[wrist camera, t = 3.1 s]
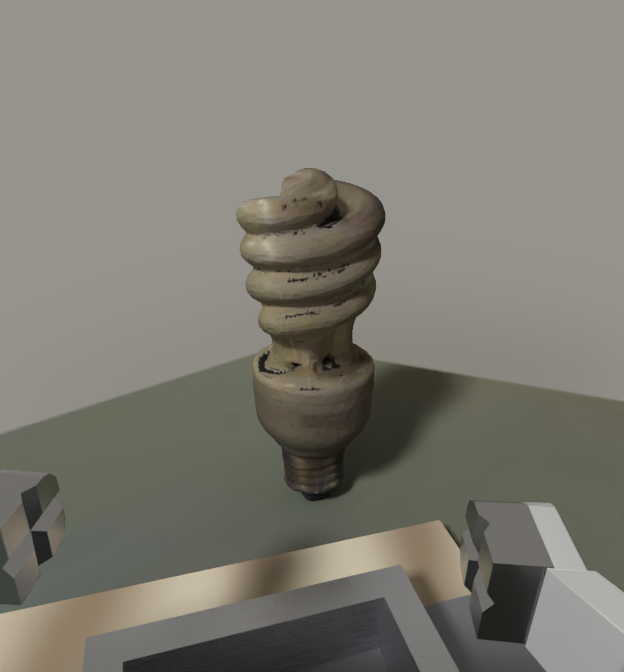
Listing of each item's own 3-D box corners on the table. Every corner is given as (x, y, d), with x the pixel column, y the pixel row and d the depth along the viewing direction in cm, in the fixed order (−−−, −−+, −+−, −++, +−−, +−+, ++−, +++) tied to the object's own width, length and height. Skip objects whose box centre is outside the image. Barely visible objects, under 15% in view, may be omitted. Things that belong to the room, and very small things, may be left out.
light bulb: (284, 553, 22) (280, 183, 16) (229, 479, 27) (210, 163, 20) (389, 504, 25) (421, 172, 19) (324, 444, 29) (333, 156, 23)
